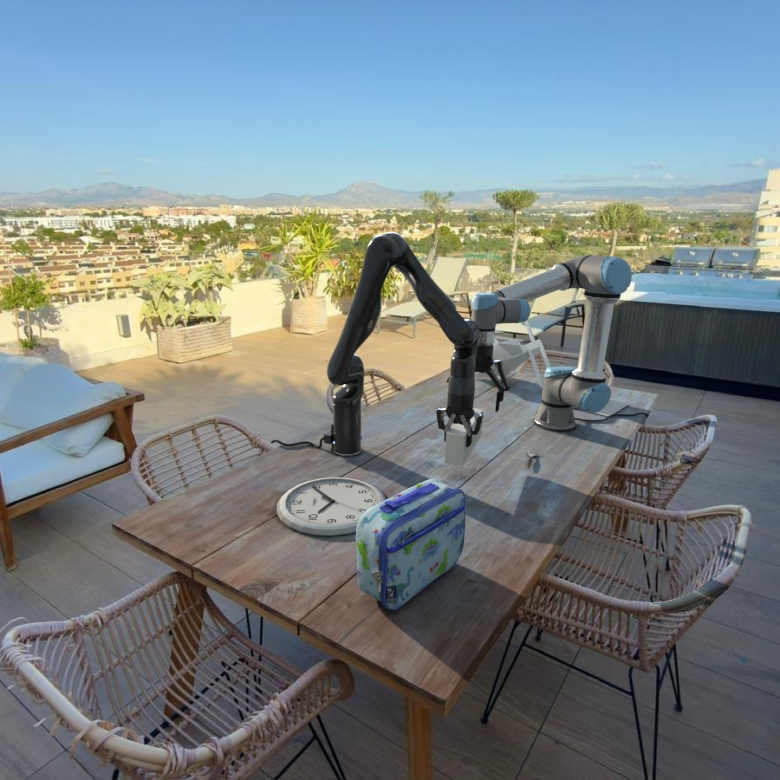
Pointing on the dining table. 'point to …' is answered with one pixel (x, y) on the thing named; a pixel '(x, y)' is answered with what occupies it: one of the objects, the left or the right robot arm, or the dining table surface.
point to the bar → (460, 442)
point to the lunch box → (409, 541)
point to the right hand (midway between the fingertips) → (476, 407)
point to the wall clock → (327, 505)
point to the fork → (531, 456)
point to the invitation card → (611, 408)
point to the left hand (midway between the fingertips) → (457, 444)
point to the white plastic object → (517, 355)
